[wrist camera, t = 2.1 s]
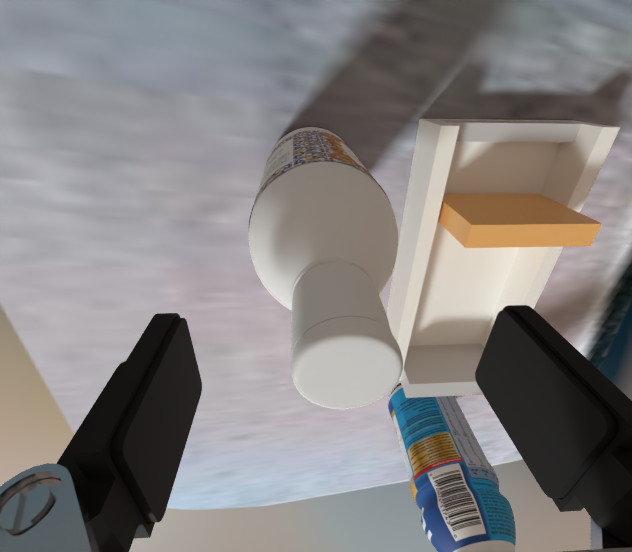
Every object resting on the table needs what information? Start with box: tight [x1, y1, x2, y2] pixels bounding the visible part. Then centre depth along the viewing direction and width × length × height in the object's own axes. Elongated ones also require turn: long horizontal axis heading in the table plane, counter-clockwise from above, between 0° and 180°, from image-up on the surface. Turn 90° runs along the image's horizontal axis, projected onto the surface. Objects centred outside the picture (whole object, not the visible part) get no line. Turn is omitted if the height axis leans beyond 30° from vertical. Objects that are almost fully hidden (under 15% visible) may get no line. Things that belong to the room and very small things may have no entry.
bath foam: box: [249, 127, 403, 409], centre depth 17 cm, size 7×7×20 cm
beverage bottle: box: [388, 385, 516, 552], centre depth 32 cm, size 8×8×20 cm
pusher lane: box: [386, 119, 620, 398], centre depth 28 cm, size 24×12×6 cm, turn 179°
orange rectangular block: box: [438, 194, 602, 248], centre depth 23 cm, size 2×9×6 cm, turn 89°
